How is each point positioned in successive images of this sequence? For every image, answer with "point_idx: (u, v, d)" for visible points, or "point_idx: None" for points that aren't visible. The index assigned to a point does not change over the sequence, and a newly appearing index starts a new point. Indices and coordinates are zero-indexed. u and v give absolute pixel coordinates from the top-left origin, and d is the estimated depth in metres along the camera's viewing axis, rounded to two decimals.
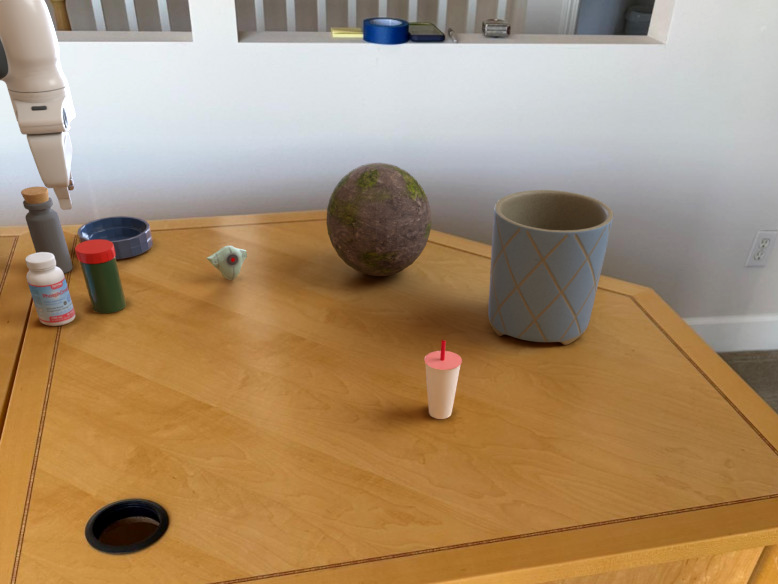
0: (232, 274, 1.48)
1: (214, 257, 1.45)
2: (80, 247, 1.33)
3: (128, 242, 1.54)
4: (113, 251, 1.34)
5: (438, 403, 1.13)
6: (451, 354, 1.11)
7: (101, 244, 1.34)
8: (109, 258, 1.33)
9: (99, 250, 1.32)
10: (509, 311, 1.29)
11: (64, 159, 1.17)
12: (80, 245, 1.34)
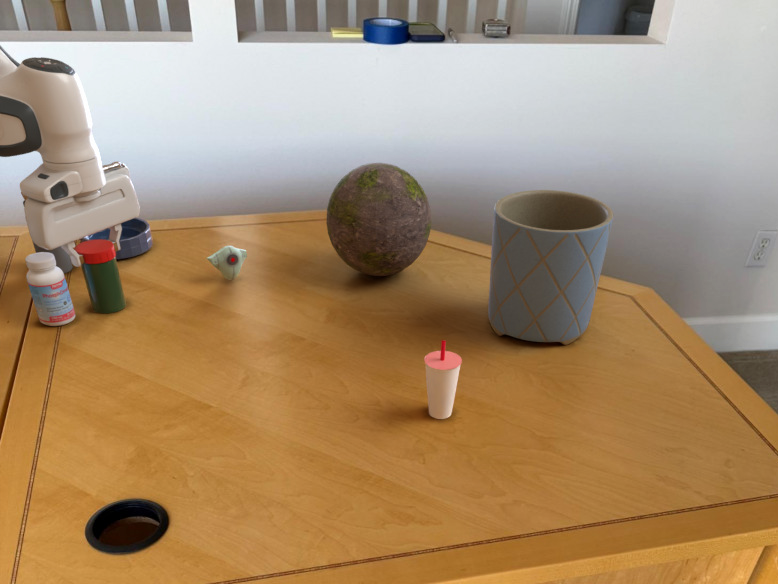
0: (232, 274, 1.48)
1: (214, 257, 1.45)
2: (80, 247, 1.33)
3: (128, 242, 1.54)
4: (113, 251, 1.34)
5: (438, 403, 1.13)
6: (451, 354, 1.11)
7: (101, 244, 1.34)
8: (109, 258, 1.33)
9: (99, 250, 1.32)
10: (509, 311, 1.29)
11: (43, 226, 1.22)
12: (80, 245, 1.34)
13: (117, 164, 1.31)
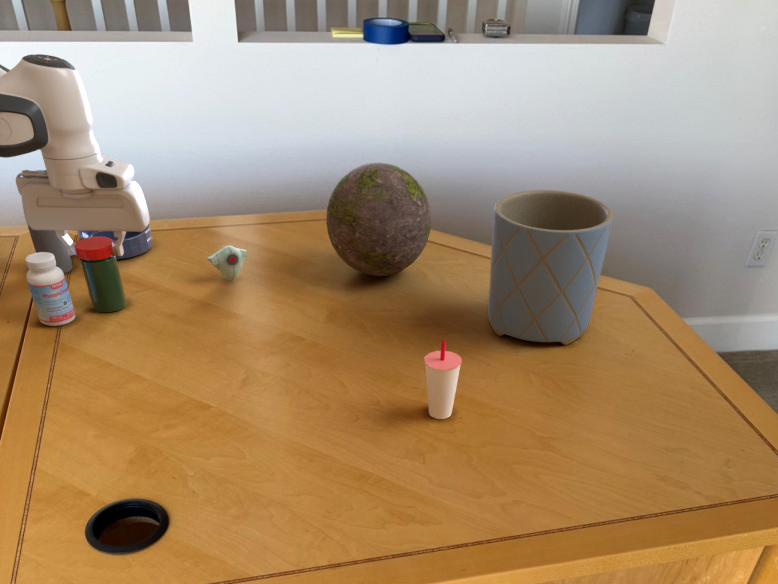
0: (232, 274, 1.48)
1: (214, 257, 1.45)
2: (101, 246, 1.33)
3: (128, 242, 1.54)
4: None
5: (438, 403, 1.13)
6: (451, 354, 1.11)
7: (87, 242, 1.34)
8: None
9: (101, 238, 1.35)
10: (509, 311, 1.29)
11: None
12: (96, 247, 1.32)
13: None
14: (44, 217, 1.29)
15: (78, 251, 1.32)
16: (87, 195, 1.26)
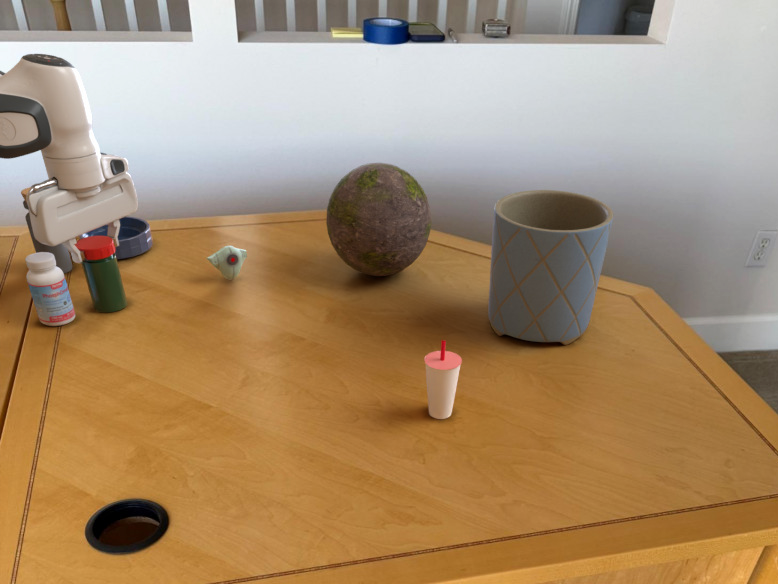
0: (232, 274, 1.48)
1: (214, 257, 1.45)
2: (107, 240, 1.34)
3: (128, 242, 1.54)
4: None
5: (438, 403, 1.13)
6: (451, 354, 1.11)
7: (86, 244, 1.33)
8: None
9: (87, 238, 1.35)
10: (509, 311, 1.29)
11: None
12: (107, 242, 1.33)
13: None
14: (63, 227, 1.25)
15: (95, 252, 1.32)
16: (100, 188, 1.28)
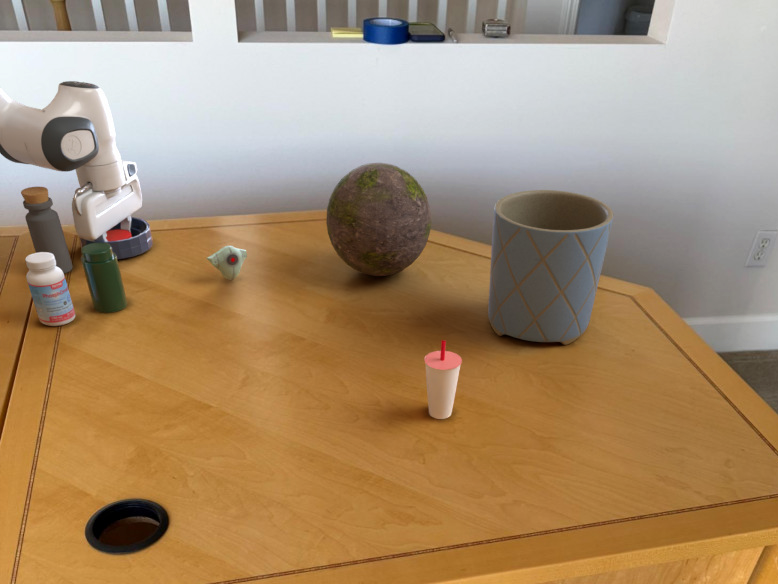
0: (232, 274, 1.48)
1: (214, 257, 1.45)
2: (125, 232, 1.60)
3: (128, 242, 1.54)
4: None
5: (438, 403, 1.13)
6: (451, 354, 1.11)
7: (110, 237, 1.58)
8: None
9: (107, 233, 1.60)
10: (509, 311, 1.29)
11: None
12: (127, 234, 1.59)
13: None
14: (100, 223, 1.51)
15: None
16: (121, 189, 1.54)
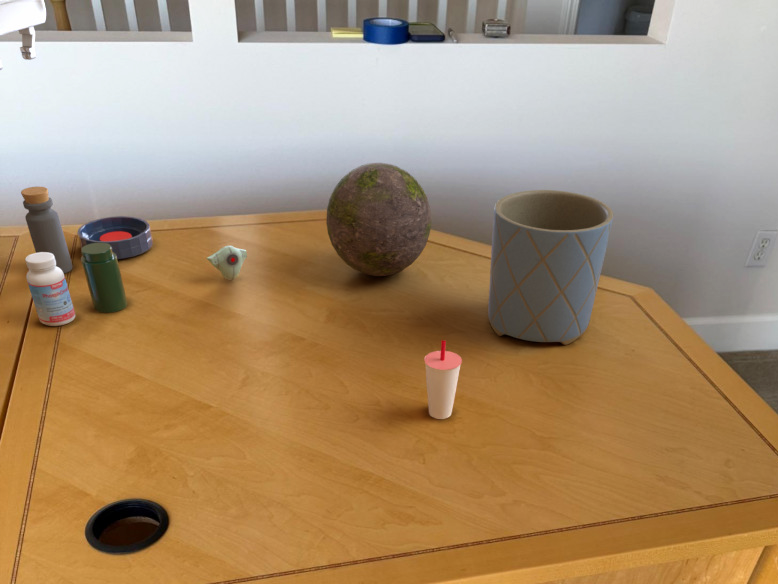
0: (232, 274, 1.48)
1: (214, 257, 1.45)
2: (126, 234, 1.60)
3: (128, 242, 1.54)
4: None
5: (438, 403, 1.13)
6: (451, 354, 1.11)
7: (110, 239, 1.58)
8: None
9: (107, 234, 1.60)
10: (509, 311, 1.29)
11: None
12: (128, 236, 1.60)
13: None
14: None
15: None
16: None
